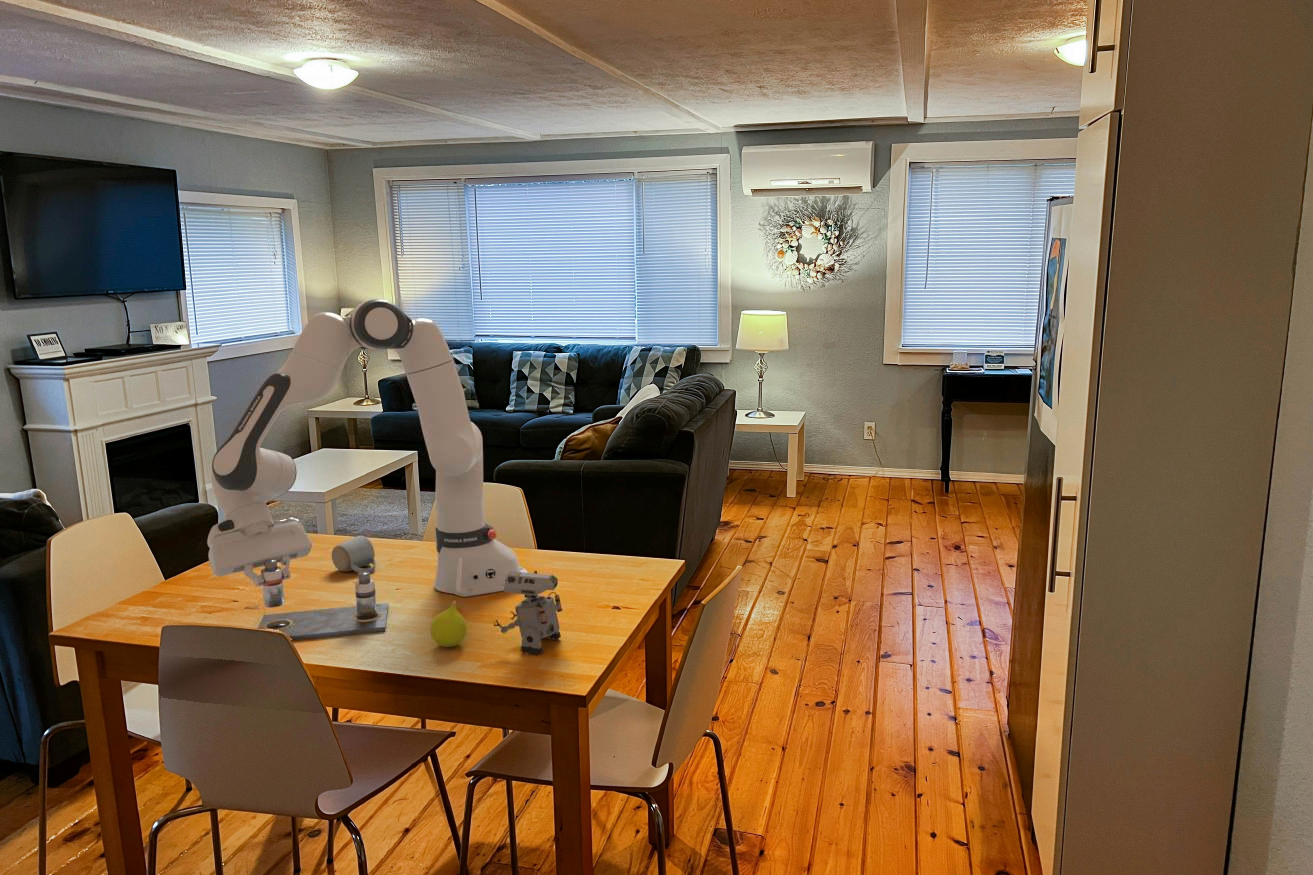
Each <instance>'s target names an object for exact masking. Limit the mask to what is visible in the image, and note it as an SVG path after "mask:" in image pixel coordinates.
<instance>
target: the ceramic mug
mask: <svg viewBox="0 0 1313 875" xmlns="http://www.w3.org/2000/svg"><path fill="white" fill-rule="evenodd" d="M331 560H332V564H333V565H334V566H335V568H336V569H337V570H338V571H339V572H343V573H346V572H347V573H348V572H350V571H351V572H352V571H354V572H356V573H357V574H359V573H361V572H370V574H371V573H373V572H374V571H375V569H376V566H377V565H376V563H377V562H376V560H375V549H374V545H373V544H372V542H371V541H370V539H369V538H368V537H366V536H364V535H357V536H354V537H353V538H350V539H348V540H346V541H343V542H341V543H339V544H337V545H335V546H334V547H333V548H332V551H331ZM368 565H372V566H371V567H368V568H364V567H366V566H368Z"/></svg>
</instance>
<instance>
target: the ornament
mask: <svg viewBox="0 0 1313 875" xmlns="http://www.w3.org/2000/svg"><path fill="white" fill-rule="evenodd" d="M455 596H456V597H455V598H457V597H458V595H456V594H455ZM456 603H457V601H456V600H453V601H452V604H451V605H450V607H449V608H448V609H446V610H444V611H442V612H440V613H438V614H437V615H436V616H435V617H434V619H432V621H431V625H430V635H431V638H432V639H433V641H434V642H435V643H436V644H437V645H438V646H441V647H444V648H452V647H455V646H457V645H459V644H460V643H461V642H462V641H463V640H464V639H465V637H466V636H467V631H468V626H467V622H466V620H465V618H464V617H463V616H462V614H461V613H460V612H459V611H458V610H457V607H456Z"/></svg>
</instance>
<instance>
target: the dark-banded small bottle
mask: <svg viewBox="0 0 1313 875" xmlns="http://www.w3.org/2000/svg"><path fill="white" fill-rule="evenodd" d="M357 579H358V580H357V581H355V582H354V588H355V601H356V602H355V603H356V606H357V616H358V618H359V619H371V618H374V617H376V616H377V608H376V604H377V599H376V598H377V597H376V584H375V580H374V579H371V573H370V572H361V573H357Z"/></svg>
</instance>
